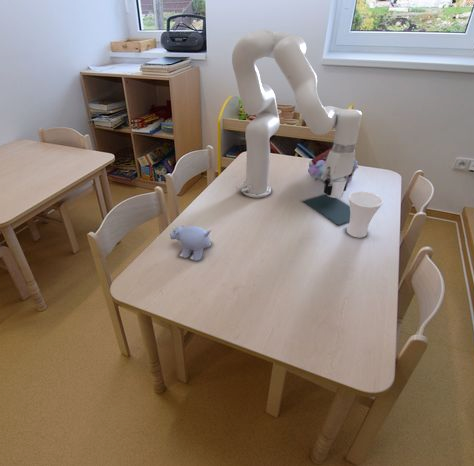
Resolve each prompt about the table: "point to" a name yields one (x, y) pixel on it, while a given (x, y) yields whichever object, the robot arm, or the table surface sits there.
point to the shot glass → (338, 187)
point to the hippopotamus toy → (192, 240)
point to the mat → (330, 208)
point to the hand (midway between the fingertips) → (334, 191)
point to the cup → (362, 212)
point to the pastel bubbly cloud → (322, 166)
